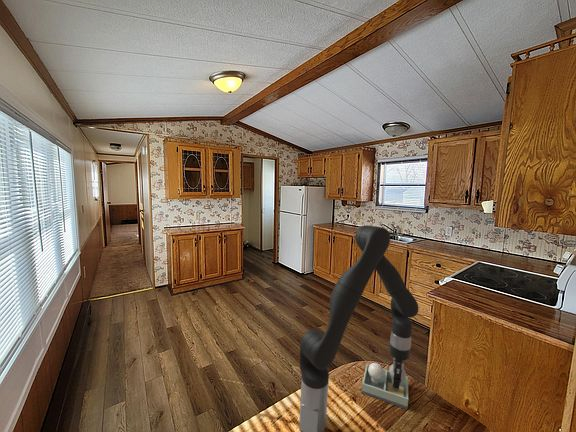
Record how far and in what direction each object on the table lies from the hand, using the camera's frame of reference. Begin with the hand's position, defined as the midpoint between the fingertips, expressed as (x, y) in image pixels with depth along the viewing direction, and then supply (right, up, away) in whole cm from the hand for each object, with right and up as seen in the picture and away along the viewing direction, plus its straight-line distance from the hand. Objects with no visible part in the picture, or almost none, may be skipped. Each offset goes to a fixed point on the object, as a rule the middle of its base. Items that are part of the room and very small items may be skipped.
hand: (396, 381), depth 105 cm
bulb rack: (-4, -5, +2) cm, 6 cm away
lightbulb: (0, -4, 0) cm, 4 cm away
